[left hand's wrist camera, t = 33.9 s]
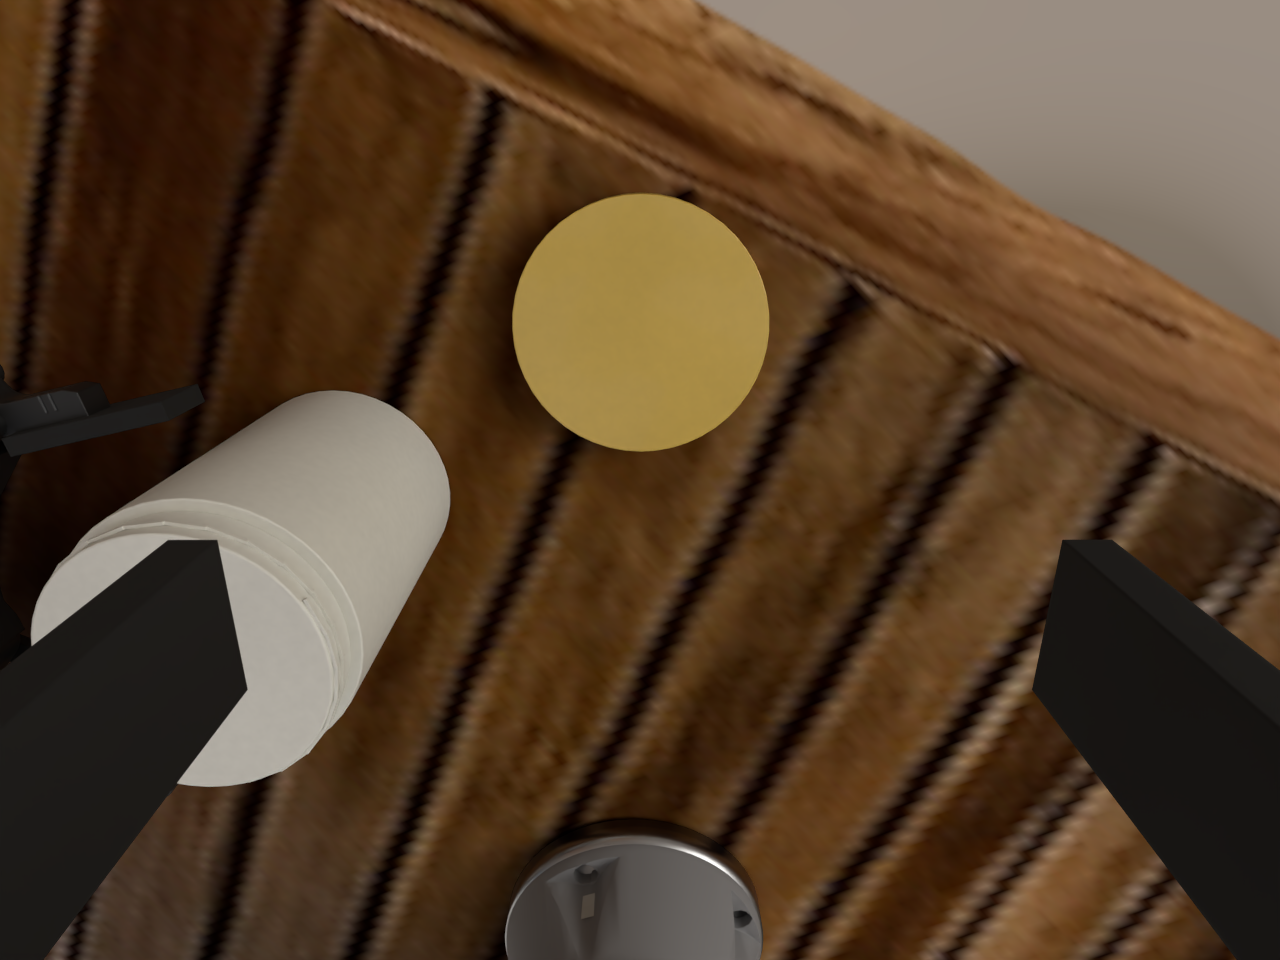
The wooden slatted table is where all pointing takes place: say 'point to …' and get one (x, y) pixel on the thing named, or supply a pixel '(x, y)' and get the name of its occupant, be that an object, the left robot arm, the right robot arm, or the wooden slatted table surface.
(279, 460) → the jar
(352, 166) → the wooden slatted table surface
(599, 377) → the lid
